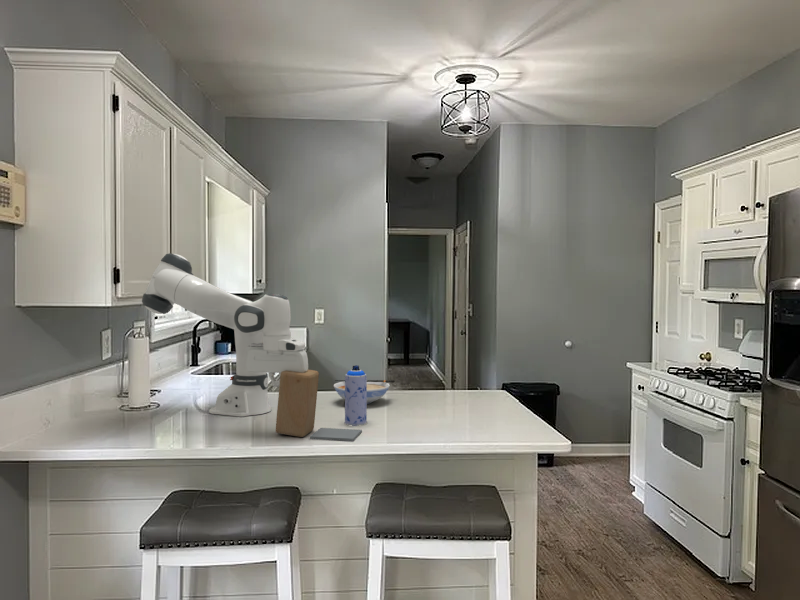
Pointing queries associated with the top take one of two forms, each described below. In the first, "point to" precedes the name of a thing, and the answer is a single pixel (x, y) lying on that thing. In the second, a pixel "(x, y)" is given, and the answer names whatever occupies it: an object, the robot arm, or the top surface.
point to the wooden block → (297, 402)
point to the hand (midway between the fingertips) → (277, 386)
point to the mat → (336, 434)
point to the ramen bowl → (373, 389)
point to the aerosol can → (355, 397)
